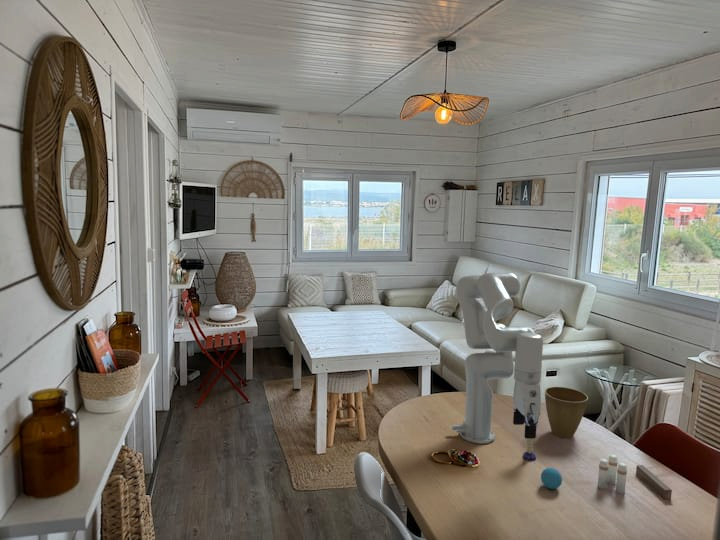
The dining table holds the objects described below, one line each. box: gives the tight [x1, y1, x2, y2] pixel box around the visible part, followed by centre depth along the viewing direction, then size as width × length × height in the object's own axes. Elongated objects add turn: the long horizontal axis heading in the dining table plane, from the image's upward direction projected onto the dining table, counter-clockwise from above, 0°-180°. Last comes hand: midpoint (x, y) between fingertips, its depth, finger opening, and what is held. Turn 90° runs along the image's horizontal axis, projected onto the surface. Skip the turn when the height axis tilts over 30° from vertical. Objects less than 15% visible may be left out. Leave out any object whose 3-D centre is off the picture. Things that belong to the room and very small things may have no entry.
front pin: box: [597, 458, 609, 490], centre depth 152 cm, size 2×2×8 cm
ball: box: [540, 467, 563, 490], centre depth 151 cm, size 6×6×6 cm
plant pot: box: [544, 386, 589, 440], centre depth 186 cm, size 15×15×16 cm
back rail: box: [635, 464, 673, 501], centre depth 153 cm, size 2×14×3 cm, turn 3°
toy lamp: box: [522, 413, 537, 462], centre depth 168 cm, size 5×5×17 cm
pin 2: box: [615, 462, 628, 495], centre depth 150 cm, size 2×2×8 cm
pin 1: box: [607, 454, 619, 485], centre depth 155 cm, size 2×2×8 cm
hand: (524, 430), depth 149 cm, fingers open, 8 cm apart
